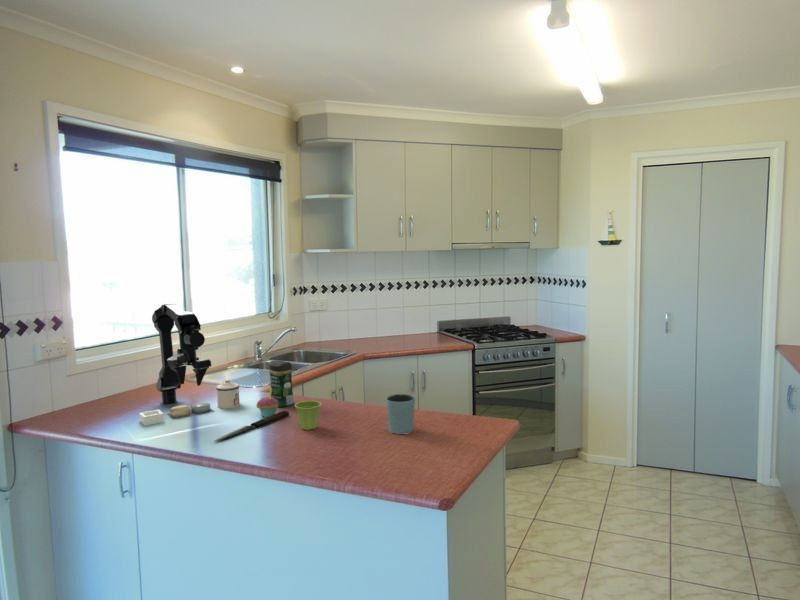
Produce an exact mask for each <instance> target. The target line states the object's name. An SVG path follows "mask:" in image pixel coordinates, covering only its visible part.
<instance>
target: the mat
mask: <svg viewBox="0 0 800 600" xmlns="http://www.w3.org/2000/svg"><path fill="white" fill-rule="evenodd" d="M214 412H215V410H214V409H212V408H211V407H210V411H208V412H204V413H192V412H191V408H190V414H189V415H187V416H184V417H171V415H170V412H169V413H166V415H167V416H168V417H170V419H172V421H173V420H179V419H183V418H189V417H193V416H199V415H200V416H201V415H203V414H204V415H205V414H209V413H214Z"/></svg>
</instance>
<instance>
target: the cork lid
mask: <svg viewBox="0 0 800 600" xmlns="http://www.w3.org/2000/svg"><path fill="white" fill-rule="evenodd" d="M190 409H191V406H190V405H184V404H183V405H176V406H172V407H171V408H170V409H169V413H170V415H171V417H184V416H187V415H189V414H190ZM171 417H170V418H171Z"/></svg>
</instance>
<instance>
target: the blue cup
mask: <svg viewBox="0 0 800 600" xmlns="http://www.w3.org/2000/svg"><path fill="white" fill-rule="evenodd" d="M385 401H386V407H387V420H388V432H389V433H390V432H392V433H396V434H395V435H397V434H404V433H410V432H412V431H413V432H414V427H415V423H414V419H415V404H416V402H415V401H416V397H415V395H413V394H409V393H408V394H407V393H395V394H390V395H389V396H386V398H385ZM413 432H412V433H413ZM392 433H391V434H392ZM410 434H411V433H410Z"/></svg>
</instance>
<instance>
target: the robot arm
mask: <svg viewBox="0 0 800 600" xmlns="http://www.w3.org/2000/svg"><path fill="white" fill-rule="evenodd" d="M151 320H152V323H153V326H154V328H155V329H156V331H157V332H158V337H159V345H160V346H159V347H160V353H161V354H160V355H161V364H162V365H161V369H160V371H159V373H158V378H157V382H156V385H155V386H156V390H157V391H158V392H160V393H161V401H160V402H159V403H161V404H160V405H162V406H164V405H171V404H176V403H179V400H177V399H178V398H177V390H178V389H181V387H182V385H184V384H185V381H186V373H187V366H191V367H192V371H193V372H194V373H195V380H196V385H197V386H201V384H202V382H203V380H204V379H203V378H204V377H205V375H206V374H207V371H208V370H209V369H210V367H212V360H210V359H209V358H202V359H200V357H199V356H197V351H198V350H199V348H200V347H202V346H203V345H204V343H205V341H206V338H205V336H204V334H203V333H202V332H200V331H201V327H202V325H201V324H200V321H199V319H198V317H197V315H196V314H195V313H194V312H191V311H184V310H183V309H181V308H180V307H179V306H178V305H177V304H176V303H174V302H170V303H169V302H168V303H163V304H161V305H160V307H158V308H157V309H156V310H154V311H153V314H152V316H151ZM174 327H175V328H176V329H177V334H178V338H179V348H177V350H176V353H175V354H174V348H173V340H172V339H173V338H172V330H173V329H174Z"/></svg>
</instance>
